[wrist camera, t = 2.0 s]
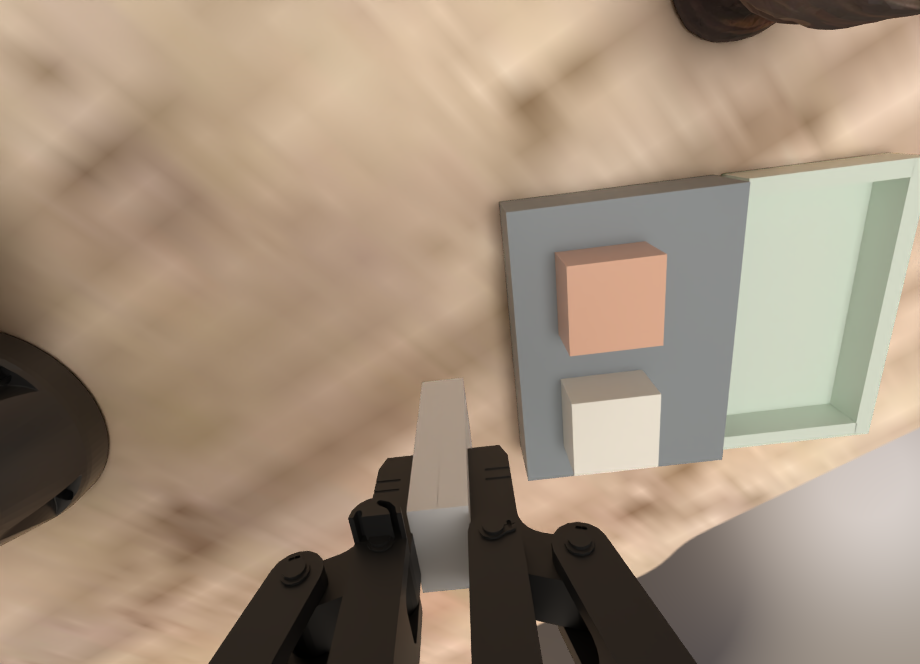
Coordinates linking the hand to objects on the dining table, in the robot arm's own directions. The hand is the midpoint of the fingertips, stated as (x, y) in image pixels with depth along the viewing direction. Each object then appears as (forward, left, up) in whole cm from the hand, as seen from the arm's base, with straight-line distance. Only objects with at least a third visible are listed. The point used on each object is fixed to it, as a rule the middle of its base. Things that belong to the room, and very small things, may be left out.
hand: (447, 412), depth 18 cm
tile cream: (+9, -8, -11) cm, 16 cm away
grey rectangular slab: (+10, -4, -15) cm, 19 cm away
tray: (+22, -4, -15) cm, 27 cm away
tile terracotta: (+9, 0, -11) cm, 14 cm away
